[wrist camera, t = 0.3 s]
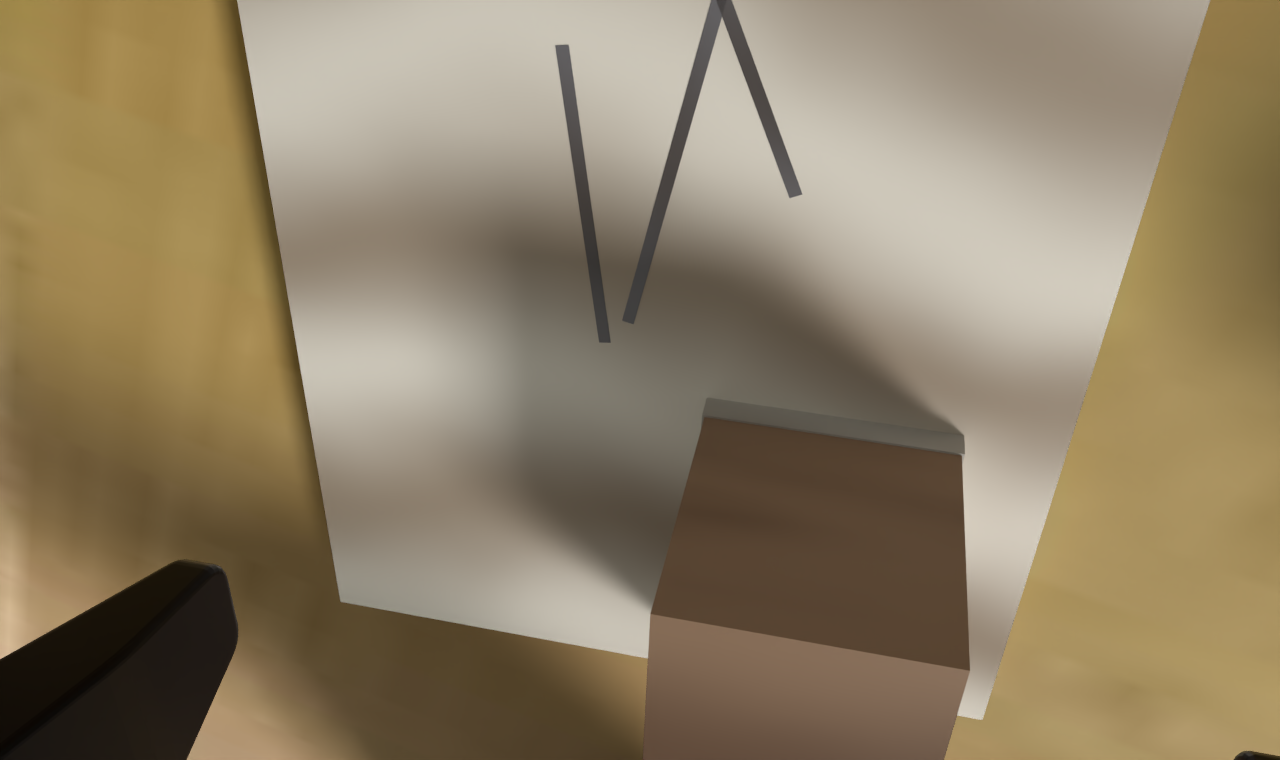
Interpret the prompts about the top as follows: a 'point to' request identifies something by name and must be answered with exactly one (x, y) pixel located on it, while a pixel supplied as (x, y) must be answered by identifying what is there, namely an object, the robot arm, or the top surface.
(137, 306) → the top surface
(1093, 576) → the top surface
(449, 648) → the top surface
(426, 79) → the birch board
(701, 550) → the block
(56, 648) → the robot arm
